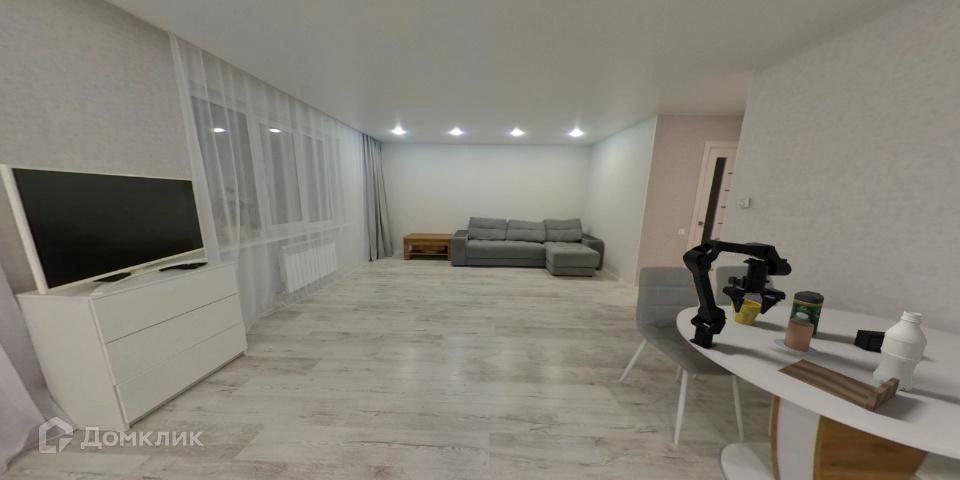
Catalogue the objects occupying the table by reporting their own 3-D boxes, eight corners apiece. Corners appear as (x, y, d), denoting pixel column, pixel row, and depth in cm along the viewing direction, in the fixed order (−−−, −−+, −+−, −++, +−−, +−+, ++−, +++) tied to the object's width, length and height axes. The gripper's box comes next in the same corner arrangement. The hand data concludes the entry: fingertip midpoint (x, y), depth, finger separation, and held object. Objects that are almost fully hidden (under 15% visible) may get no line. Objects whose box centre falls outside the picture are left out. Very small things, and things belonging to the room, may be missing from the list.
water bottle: (864, 379, 91) (884, 308, 87) (883, 379, 92) (904, 307, 88) (898, 395, 84) (922, 318, 80) (918, 394, 85) (943, 318, 81)
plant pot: (764, 328, 126) (768, 308, 124) (738, 325, 128) (741, 305, 126) (747, 318, 136) (751, 299, 134) (723, 316, 138) (726, 297, 136)
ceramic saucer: (810, 361, 101) (811, 358, 101) (766, 344, 112) (767, 342, 112) (825, 354, 106) (826, 352, 105) (782, 339, 117) (782, 336, 116)
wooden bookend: (871, 415, 77) (876, 395, 76) (776, 373, 94) (780, 357, 93) (894, 397, 83) (900, 379, 82) (802, 361, 101) (806, 346, 100)
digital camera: (868, 352, 108) (873, 335, 106) (853, 345, 113) (857, 329, 112) (903, 356, 106) (908, 339, 104) (885, 348, 111) (890, 332, 110)
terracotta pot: (812, 353, 104) (818, 327, 103) (788, 348, 107) (794, 323, 106) (802, 345, 110) (808, 320, 108) (780, 341, 113) (785, 317, 111)
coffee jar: (792, 326, 128) (801, 287, 125) (818, 334, 121) (828, 293, 118) (783, 330, 124) (791, 290, 121) (809, 338, 117) (819, 297, 114)
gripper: (764, 270, 115) (757, 306, 117) (715, 268, 116) (709, 304, 119) (791, 279, 104) (782, 318, 106) (737, 276, 106) (730, 315, 108)
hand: (749, 313), depth 110 cm, fingers open, 9 cm apart
